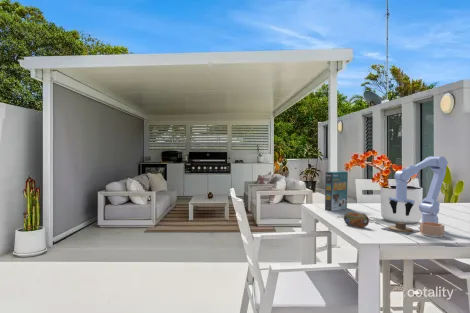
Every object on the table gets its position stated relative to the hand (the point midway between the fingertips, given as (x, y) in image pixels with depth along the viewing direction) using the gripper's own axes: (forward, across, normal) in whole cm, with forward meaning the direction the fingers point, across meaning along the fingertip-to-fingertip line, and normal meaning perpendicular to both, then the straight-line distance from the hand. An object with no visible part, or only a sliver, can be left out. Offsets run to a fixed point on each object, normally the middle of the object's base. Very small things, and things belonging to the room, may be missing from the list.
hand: (400, 214), depth 191 cm
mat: (+9, 0, 0) cm, 9 cm away
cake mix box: (+10, -68, +26) cm, 73 cm away
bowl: (+9, +15, +5) cm, 18 cm away
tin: (+10, -20, -14) cm, 26 cm away
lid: (+9, 0, 0) cm, 9 cm away
